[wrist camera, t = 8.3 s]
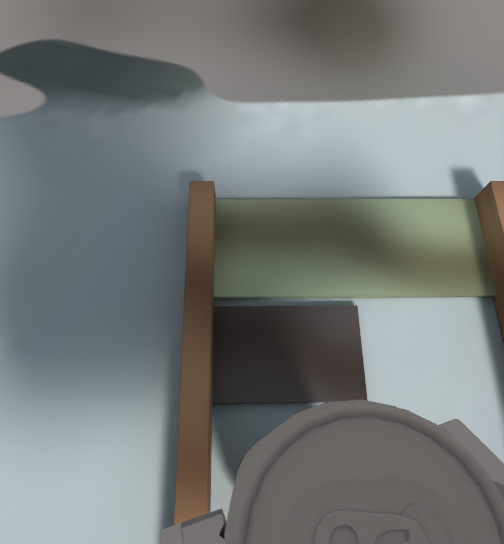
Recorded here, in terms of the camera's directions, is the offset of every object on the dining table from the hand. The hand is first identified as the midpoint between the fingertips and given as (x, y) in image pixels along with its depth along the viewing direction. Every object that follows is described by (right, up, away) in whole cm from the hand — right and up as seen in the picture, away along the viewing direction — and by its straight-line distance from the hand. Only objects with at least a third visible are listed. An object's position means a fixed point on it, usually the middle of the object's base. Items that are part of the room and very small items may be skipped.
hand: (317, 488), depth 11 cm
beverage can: (0, -3, +7) cm, 8 cm away
